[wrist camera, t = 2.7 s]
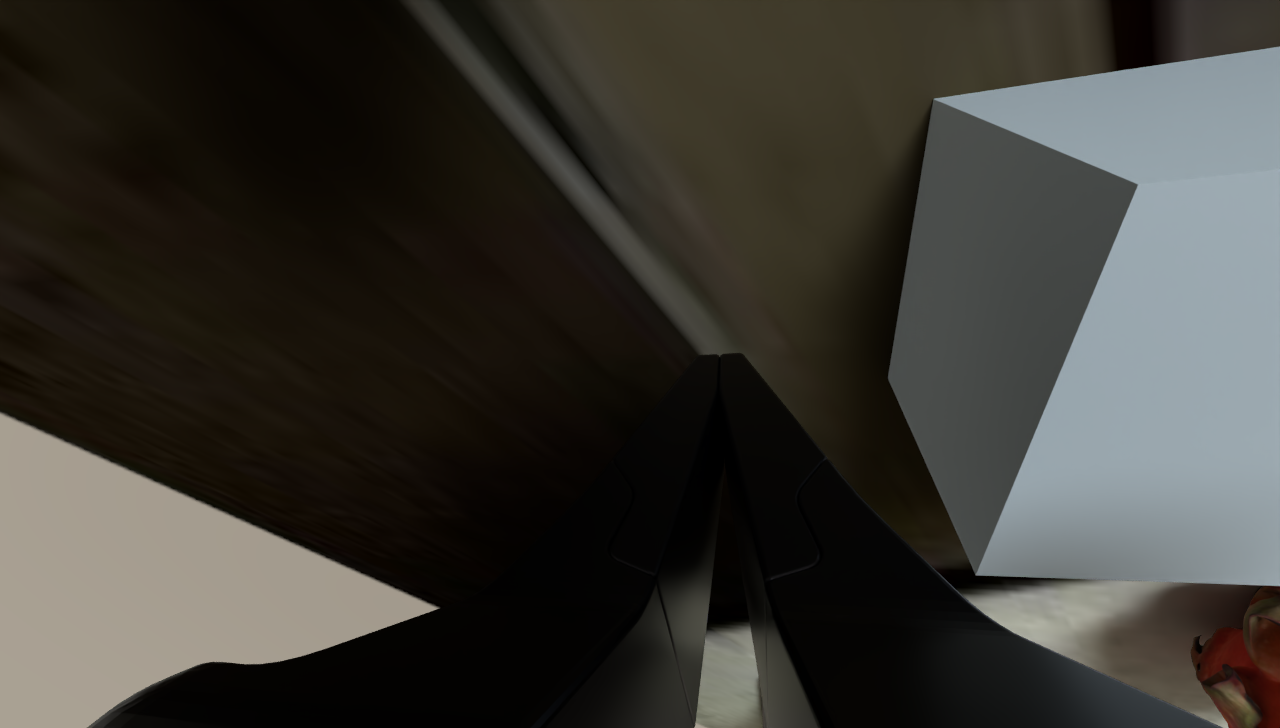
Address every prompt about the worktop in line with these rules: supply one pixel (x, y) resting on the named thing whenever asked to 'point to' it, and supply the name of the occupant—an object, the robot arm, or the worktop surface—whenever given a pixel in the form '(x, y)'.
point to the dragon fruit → (1245, 665)
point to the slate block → (1102, 323)
